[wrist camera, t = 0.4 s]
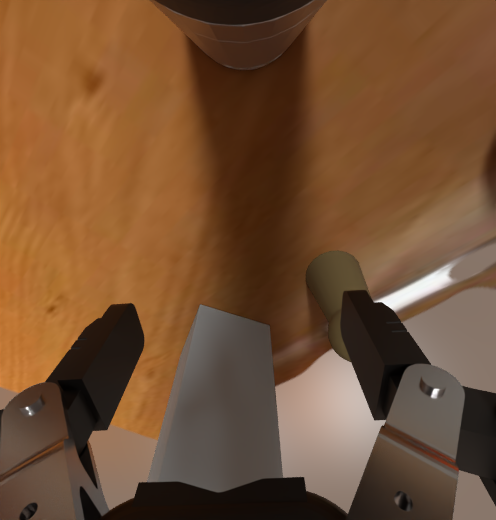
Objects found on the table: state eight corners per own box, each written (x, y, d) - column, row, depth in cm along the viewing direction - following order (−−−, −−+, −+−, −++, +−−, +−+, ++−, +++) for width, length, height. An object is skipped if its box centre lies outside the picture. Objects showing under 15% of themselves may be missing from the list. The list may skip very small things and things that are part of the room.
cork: (331, 304, 35) (362, 384, 25) (294, 277, 33) (312, 352, 23) (371, 271, 32) (422, 345, 23) (334, 240, 31) (372, 306, 21)
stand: (199, 302, 35) (-8, 1147, 7) (271, 324, 36) (343, 1080, 8) (179, 354, 39) (2, 1003, 11) (244, 372, 41) (234, 977, 13)
